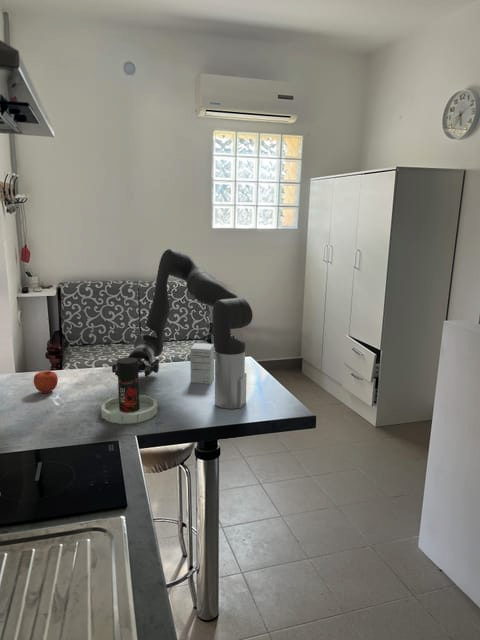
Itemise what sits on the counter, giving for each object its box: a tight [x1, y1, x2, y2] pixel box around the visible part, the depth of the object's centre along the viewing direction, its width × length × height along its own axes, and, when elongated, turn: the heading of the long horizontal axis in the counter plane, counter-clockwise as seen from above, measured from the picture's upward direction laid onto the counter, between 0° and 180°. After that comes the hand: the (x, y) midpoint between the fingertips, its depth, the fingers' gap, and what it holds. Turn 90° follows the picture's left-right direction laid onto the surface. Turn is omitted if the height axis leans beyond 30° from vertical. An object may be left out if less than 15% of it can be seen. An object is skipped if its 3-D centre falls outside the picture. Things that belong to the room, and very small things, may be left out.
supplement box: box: [189, 342, 215, 385], centre depth 172 cm, size 7×7×13 cm
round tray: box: [100, 394, 158, 425], centre depth 144 cm, size 16×16×2 cm
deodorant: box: [116, 357, 140, 413], centre depth 143 cm, size 6×6×15 cm
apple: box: [33, 368, 59, 395], centre depth 159 cm, size 7×7×8 cm
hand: (131, 373), depth 147 cm, fingers open, 8 cm apart
